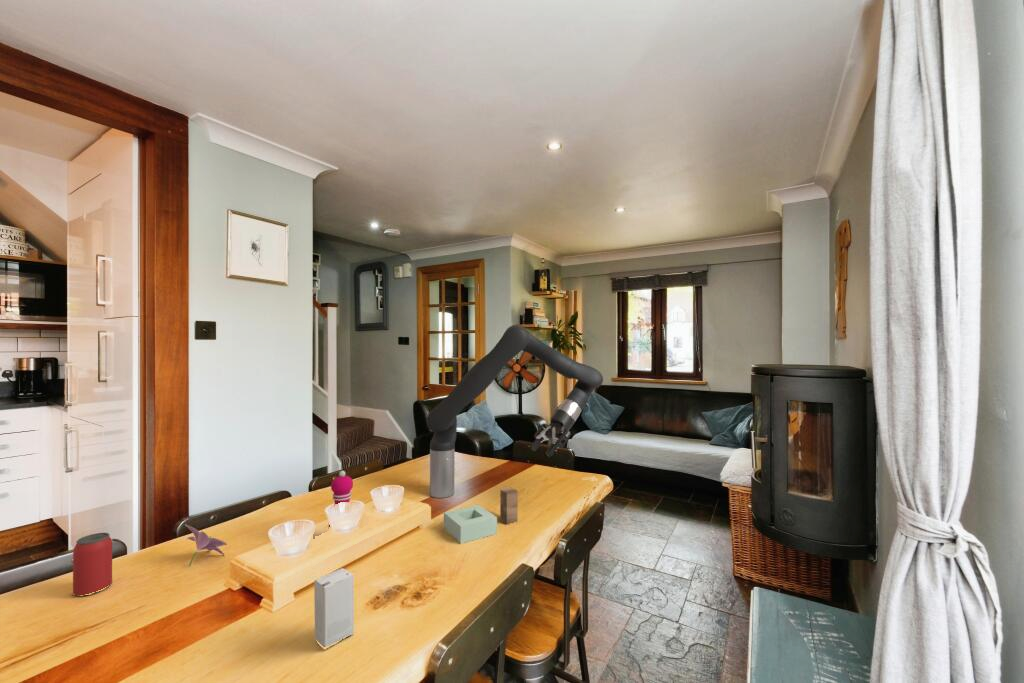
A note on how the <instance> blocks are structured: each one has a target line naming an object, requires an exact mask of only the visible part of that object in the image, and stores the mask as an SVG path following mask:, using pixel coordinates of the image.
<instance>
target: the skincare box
mask: <svg viewBox="0 0 1024 683" xmlns="http://www.w3.org/2000/svg"><path fill="white" fill-rule="evenodd" d="M313 584H314V586H313V588H314V591H313V592H314V593H313V594H314V640H315V639H316V640H317V641H318V642H319V643H320V644H321V645H322V646H323V647H327V646H329V645H331V644H333V643H335V642H337V641H340V640H341V639H343V638H344V637H347V636H349V635H351V634H353V633H355V629H354V625H355V623H354V622H355V621H354V618H355V617H354V614H355V613H354V612H355V611H354V607H355V606H354V603H355V602H354V599H355V598H354V592H355V590H354V574H353V572H350V571H348V570H347V569H345V568H340V569H337V570H335V571H333V572H330V573H328V574H325V575H324V576H320V577H318V578H316V579H315V580H314V582H313ZM353 635H354V634H353ZM351 636H352V635H351Z"/></svg>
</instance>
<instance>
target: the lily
mask: <svg viewBox="0 0 1024 683" xmlns="http://www.w3.org/2000/svg"><path fill="white" fill-rule="evenodd" d="M184 526H185V527H187V529H188V530H190V531H191V532H192V535H193V536H188V537H187V540H190V541H193V542H195V543H196V550H195V553H194V555H192V558H191V560H190V562H189V565H188V567H189V566H190V567H191V566H192V562H193V560H194V558H195V557H196V555H197V554H198V552H199V551H202V550H207V551H208V552H211V551H216V552H217V553H219V554H221V555H222V554H223V556H224V555H225V553H224V552H223V551H222V550H221V548H219V547H223V546H227V545H228V543H227V542H224V541H223V540H221V539H218V538H215V537H212V536H210V535H208V534H207V533H206V532H204V531H202V530H201V531H199V530H198V529H197V528H195V527H192V526H191V525H189V524H184Z"/></svg>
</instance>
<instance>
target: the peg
mask: <svg viewBox="0 0 1024 683" xmlns="http://www.w3.org/2000/svg"><path fill="white" fill-rule="evenodd" d="M499 493H500V494H499V496H500V501H499V503H500V504H499V505H500V508H499V510H500V517H499V518H500V520H501V522H502V521H503V522H504V523H503V522H502V523H503V524H505V525H506V524H508V525H511V524H510V523H512V524H515V523H514V522H516V523H518V522H517V521H518V515H519V514H518V512H519V511H518V510H519V509H518V506H519V505H518V504H519V503H518V490H517V489H515V488H513V487H506V488H502V489H501V488H500V492H499ZM500 520H499V521H500Z"/></svg>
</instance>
